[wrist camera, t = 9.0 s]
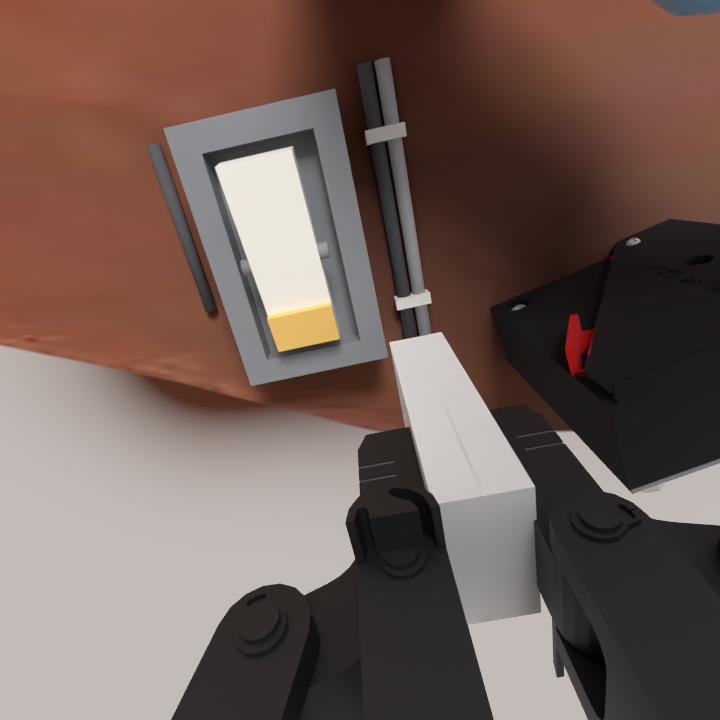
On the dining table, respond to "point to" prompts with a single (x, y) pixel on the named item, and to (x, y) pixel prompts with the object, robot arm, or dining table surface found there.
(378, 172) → the dressed cords
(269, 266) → the rocker
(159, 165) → the dark grey thin bar
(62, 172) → the dining table surface
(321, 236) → the breaker housing
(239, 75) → the dining table surface
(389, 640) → the robot arm
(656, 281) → the electrical component
